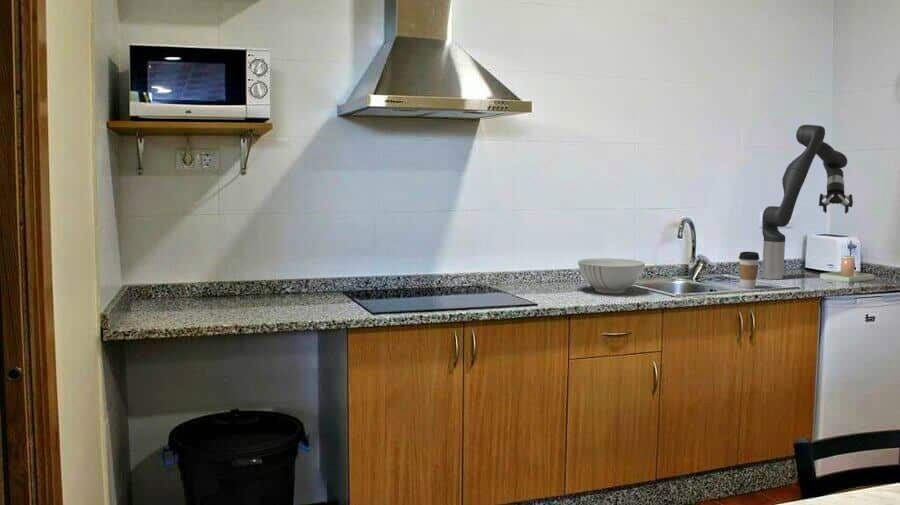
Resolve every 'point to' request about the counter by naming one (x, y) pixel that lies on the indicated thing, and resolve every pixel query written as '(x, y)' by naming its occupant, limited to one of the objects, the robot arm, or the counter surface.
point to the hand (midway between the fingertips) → (835, 211)
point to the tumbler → (847, 266)
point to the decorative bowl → (611, 273)
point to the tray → (837, 277)
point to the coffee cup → (748, 269)
